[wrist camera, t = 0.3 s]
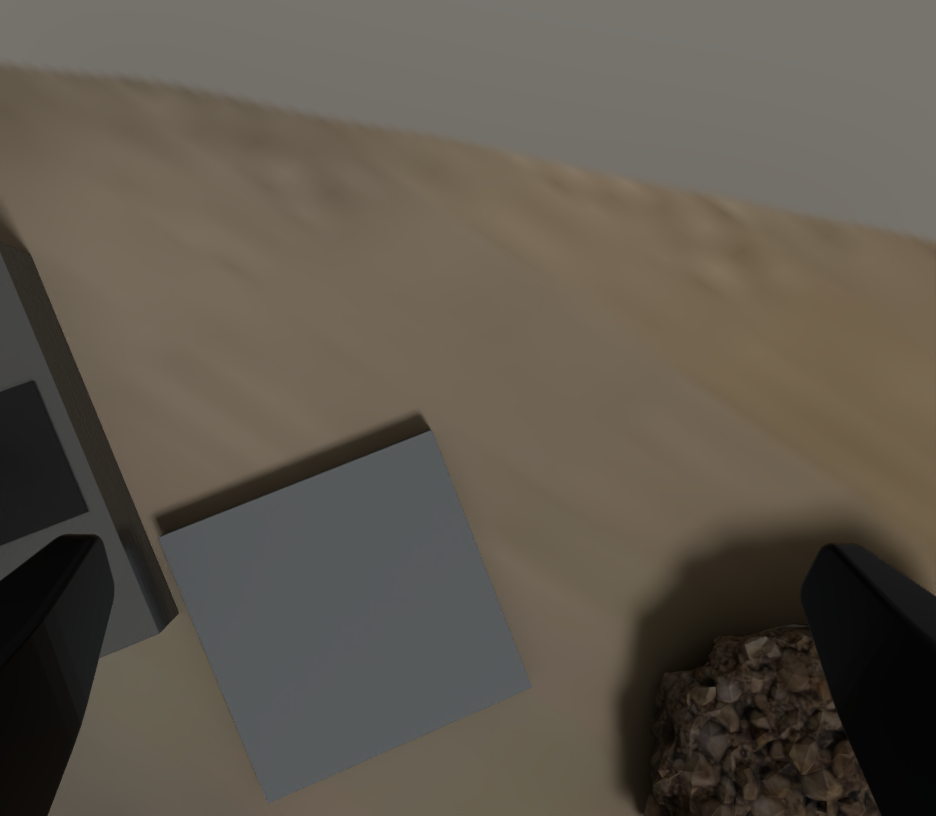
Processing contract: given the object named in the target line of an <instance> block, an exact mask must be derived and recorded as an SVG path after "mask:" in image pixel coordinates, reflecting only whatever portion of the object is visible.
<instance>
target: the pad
mask: <svg viewBox="0 0 936 816" xmlns="http://www.w3.org/2000/svg"><path fill="white" fill-rule="evenodd" d="M158 539H159V541H160V543H161V546H162V548H163V551H164V553H165V556H166V558H167V560H168V563H169V565H170V568H171V570H172V572H173V575H174V577H175V580H176V582H177V585H178V587H179V589H180V592H181V594H182V597H183V599H184V601H185V604H186V606H187V609H188V611H189V614H190V616H191V618H192V621H193V623H194V626H195V628H196V631H197V633H198V635H199V638H200V640H201V643H202V645H203V647H204V650H205V652H206V655H207V657H208V660H209V662H210V664H211V667H212V669H213V672H214V674H215V676H216V679H217V681H218V684H219V686H220V689H221V691H222V693H223V696H224V698H225V701H226V703H227V706H228V708H229V710H230V713H231V715H232V718H233V720H234V722H235V725H236V727H237V730H238V732H239V735H240V737H241V739H242V742H243V744H244V747H245V749H246V751H247V754H248V756H249V759H250V761H251V764H252V766H253V768H254V771H255V773H256V776H257V778H258V781H259V783H260V785H261V788H262V790H263V793H264V795H265V797H266V800H267V802H268V803H270V802H272V801H275V800H277V799H279V798H281V797H284V796H286V795H288V794H291V793H293V792H295V791H297V790H300V789H302V788H304V787H306V786H309V785H311V784H313V783H316V782H318V781H320V780H322V779H325V778H327V777H329V776H331V775H334V774H336V773H338V772H341V771H343V770H345V769H347V768H350V767H352V766H354V765H356V764H359V763H361V762H363V761H366V760H368V759H370V758H372V757H375V756H377V755H379V754H381V753H384V752H386V751H388V750H391V749H393V748H395V747H397V746H400V745H402V744H404V743H406V742H409V741H411V740H413V739H416V738H418V737H420V736H422V735H425V734H427V733H429V732H431V731H434V730H436V729H438V728H441V727H443V726H445V725H447V724H450V723H452V722H454V721H456V720H459V719H461V718H463V717H466V716H468V715H470V714H472V713H475V712H477V711H479V710H481V709H484V708H486V707H488V706H491V705H493V704H495V703H497V702H500V701H502V700H504V699H506V698H509V697H511V696H513V695H515V694H518V693H520V692H522V691H525V690H527V689H529V688H531V687H532V686H531V684H530V681H529V678H528V676H527V673H526V671H525V668H524V666H523V663H522V660H521V658H520V655H519V653H518V650H517V648H516V645H515V642H514V640H513V637H512V635H511V632H510V630H509V627H508V624H507V622H506V619H505V617H504V614H503V612H502V609H501V606H500V604H499V601H498V599H497V596H496V594H495V591H494V588H493V586H492V583H491V581H490V578H489V576H488V573H487V570H486V568H485V565H484V563H483V560H482V558H481V555H480V552H479V550H478V547H477V545H476V542H475V540H474V537H473V535H472V532H471V529H470V527H469V524H468V522H467V519H466V517H465V514H464V511H463V509H462V506H461V504H460V501H459V499H458V496H457V493H456V491H455V488H454V486H453V483H452V481H451V478H450V475H449V473H448V470H447V468H446V465H445V463H444V460H443V457H442V455H441V452H440V450H439V447H438V445H437V442H436V439H435V437H434V434H433V432H432V430H431V429H430V430H428V431H425V432H423V433H420V434H418V435H415V436H413V437H410V438H407V439H405V440H402V441H400V442H397V443H395V444H392V445H390V446H387V447H385V448H382V449H380V450H377V451H374V452H372V453H369V454H367V455H364V456H362V457H359V458H357V459H354V460H352V461H349V462H346V463H344V464H341V465H339V466H336V467H334V468H331V469H329V470H326V471H324V472H321V473H318V474H316V475H313V476H311V477H308V478H306V479H303V480H301V481H298V482H296V483H293V484H290V485H288V486H285V487H283V488H280V489H278V490H275V491H273V492H270V493H268V494H265V495H262V496H260V497H257V498H255V499H252V500H250V501H247V502H245V503H242V504H240V505H237V506H234V507H232V508H229V509H227V510H224V511H222V512H219V513H217V514H214V515H212V516H209V517H207V518H204V519H201V520H199V521H196V522H194V523H191V524H189V525H186V526H184V527H181V528H179V529H176V530H173V531H171V532H168V533H166V534H164V535H162V536H160V537H159V538H158Z"/></svg>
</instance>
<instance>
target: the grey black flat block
mask: <svg viewBox="0 0 936 816" xmlns="http://www.w3.org/2000/svg"><path fill="white" fill-rule="evenodd" d="M63 534H95V535H98V536H99V537H100V538H101V539H102V540H103V543H104V546H105V549H106V553H107V557H108V561H109V565H110V568H111V572H112V576H113V580H114V586H115V593H114V601H113V605H112V609H111V613H110V617H109V621H108V625H107V629H106V633H105V637H104V641H103V644H102V648H101V652H100V656H99V658H101V657H103V656H106V655H108V654H111V653H113V652H116V651H118V650H120V649H123V648H125V647H128V646H130V645H133V644H135V643H138V642H140V641H143V640H145V639H147V638H150V637H152V636H155V635H157V634H159V633H160V632H161V631H162V630H163V629H164V628H165V627H166V626H167V625H168V624H169V623H170V622H171V621H172V620H173V619H174V618H175V617H176V616H177V615H178V614H179V612H178V610H177V607H176V605H175V603H174V600H173V598H172V595H171V593H170V591H169V588H168V586H167V583H166V581H165V578H164V576H163V574H162V571H161V569H160V566H159V564H158V562H157V559H156V557H155V554H154V552H153V549H152V547H151V545H150V542H149V540H148V537H147V535H146V533H145V530H144V528H143V525H142V523H141V521H140V518H139V516H138V513H137V511H136V508H135V506H134V504H133V501H132V499H131V496H130V494H129V492H128V489H127V487H126V484H125V482H124V479H123V477H122V475H121V472H120V470H119V467H118V465H117V463H116V460H115V458H114V455H113V453H112V451H111V448H110V446H109V443H108V441H107V438H106V436H105V434H104V431H103V429H102V426H101V424H100V422H99V419H98V417H97V414H96V412H95V409H94V407H93V405H92V402H91V400H90V397H89V395H88V393H87V390H86V388H85V385H84V383H83V380H82V378H81V376H80V373H79V371H78V368H77V366H76V364H75V361H74V359H73V356H72V354H71V352H70V349H69V347H68V344H67V342H66V339H65V337H64V335H63V332H62V330H61V327H60V325H59V323H58V320H57V318H56V315H55V313H54V310H53V308H52V306H51V303H50V301H49V298H48V296H47V294H46V291H45V289H44V286H43V284H42V282H41V279H40V277H39V274H38V272H37V269H36V267H35V265H34V262H33V260H32V257H31V255H30V254H27V253H25V252H22V251H20V250H18V249H15V248H13V247H10V246H8V245H5V244H3V243H1V242H0V580H2V579H3V578H4V577H5V576H7V575H8V574H9V573H11V572H12V571H13V570H15V569H16V568H17V567H19V566H20V565H21V564H22V563H24V562H25V561H26V560H28V559H29V558H30V557H32V556H33V555H34V554H35V553H37V552H38V551H39V550H41V549H42V548H43V547H45V546H46V545H47V544H48V543H50V542H51V541H52V540H54V539H55V538H57V537H58V536H61V535H63Z"/></svg>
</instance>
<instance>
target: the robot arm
mask: <svg viewBox="0 0 936 816" xmlns="http://www.w3.org/2000/svg"><path fill="white" fill-rule="evenodd" d="M114 593H115V586H114V580H113V576H112V572H111V568H110V565H109V561H108V557H107V553H106V549H105V546H104V543H103V540H102V539H101V538H100V537H99V536H98V535H95V534H63V535H61V536H58V537H57V538H55V539H54V540H52V541H51V542H50V543H48V544H47V545H46V546H45V547H43V548H42V549H41V550H39V551H38V552H37V553H35V554H34V555H33V556H32V557H30V558H29V559H28V560H26V561H25V562H24V563H22V564H21V565H20V566H19V567H17V568H16V569H15V570H13V571H12V572H11V573H9V574H8V575H7V576H5V577H4V578H3V579H2V580H0V816H48V813H49V811H50V808H51V805H52V803H53V800H54V797H55V795H56V792H57V790H58V787H59V784H60V782H61V779H62V776H63V774H64V771H65V769H66V766H67V763H68V761H69V758H70V755H71V753H72V750H73V748H74V745H75V742H76V739H77V736H78V733H79V730H80V728H81V725H82V721H83V717H84V714H85V710H86V707H87V703H88V699H89V695H90V691H91V687H92V684H93V680H94V676H95V672H96V668H97V664H98V660H99V656H100V652H101V648H102V644H103V641H104V637H105V633H106V629H107V625H108V621H109V617H110V613H111V609H112V605H113V601H114ZM800 597H801V603H802V607H803V610H804V613H805V616H806V619H807V623H808V626H809V629H810V632H811V635H812V638H813V641H814V644H815V648H816V651H817V654H818V657H819V660H820V663H821V666H822V669H823V673H824V676H825V679H826V682H827V685H828V688H829V691H830V694H831V697H832V700H833V703H834V706H835V709H836V711H837V714H838V716H839V719H840V721H841V724H842V726H843V729H844V731H845V734H846V736H847V738H848V740H849V743H850V745H851V747H852V750H853V752H854V754H855V757H856V759H857V761H858V763H859V766H860V768H861V770H862V773H863V775H864V777H865V780H866V782H867V784H868V787H869V789H870V791H871V793H872V796H873V798H874V800H875V803H876V805H877V807H878V810H879V812H880V814H881V816H936V596H935V595H933V594H932V593H930V592H929V591H927V590H926V589H924V588H923V587H921V586H920V585H918V584H917V583H915V582H914V581H912V580H911V579H909V578H908V577H906V576H905V575H904V574H902V573H901V572H899V571H898V570H896V569H895V568H893V567H892V566H890V565H889V564H887V563H886V562H884V561H883V560H881V559H880V558H878V557H877V556H875V555H874V554H873V553H871V552H870V551H868V550H867V549H865V548H864V547H862V546H860V545H858V544H854V543H828V544H825V545H824V546H823V547H821V549H820V550H819V552H818V554H817V556H816V558H815V560H814V562H813V563H812V565H811V567H810V569H809V571H808V573H807V575H806V577H805V579H804V581H803V583H802V586H801V595H800Z"/></svg>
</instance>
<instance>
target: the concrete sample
mask: <svg viewBox="0 0 936 816" xmlns="http://www.w3.org/2000/svg"><path fill="white" fill-rule="evenodd" d="M712 643H713V650H712V652H711V653H710V654H709V655H708V662H707V663H705V665H704V666H701V667H697V668H695V669H693V670H691V671H677V672H669V673H664V675H663V677H662V679H661V681H660V683H659V685H658V687H657V689H656V705H657V707H658V708H659V711H658V714H657V715H656V716H655V718H654V719H653V720H652V721H651V722H650V725H651V732H652V734H653V736H654V739H655V741H656V746H655V751H654V755H653V756H652V757H651V764H652V772H651V773H650V778H651V781H652V793H651V794H650V795H649V796H648V799H647V804H646V808H645V813H644V816H881V814H880V812H879V810H878V807H877V805H876V803H875V800H874V798H873V796H872V793H871V791H870V789H869V787H868V784H867V782H866V780H865V777H864V775H863V773H862V770H861V768H860V766H859V763H858V761H857V759H856V757H855V754H854V752H853V750H852V747H851V745H850V743H849V740H848V738H847V736H846V734H845V731H844V729H843V726H842V724H841V721H840V719H839V716H838V714H837V711H836V709H835V706H834V703H833V700H832V697H831V694H830V691H829V688H828V685H827V682H826V679H825V676H824V673H823V669H822V666H821V663H820V660H819V657H818V654H817V651H816V648H815V644H814V641H813V638H812V635H811V632H810V629H809V626H808V625H806V624H790V625H785V626H780V627H775V628H770V629H767V630H764V631H760V632H757V633H754V634H750V635H747V636H741V637H737V636H736V635H728V636H722V635H719V636H718V637H716V638H715V639H714V640H713V641H712Z"/></svg>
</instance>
